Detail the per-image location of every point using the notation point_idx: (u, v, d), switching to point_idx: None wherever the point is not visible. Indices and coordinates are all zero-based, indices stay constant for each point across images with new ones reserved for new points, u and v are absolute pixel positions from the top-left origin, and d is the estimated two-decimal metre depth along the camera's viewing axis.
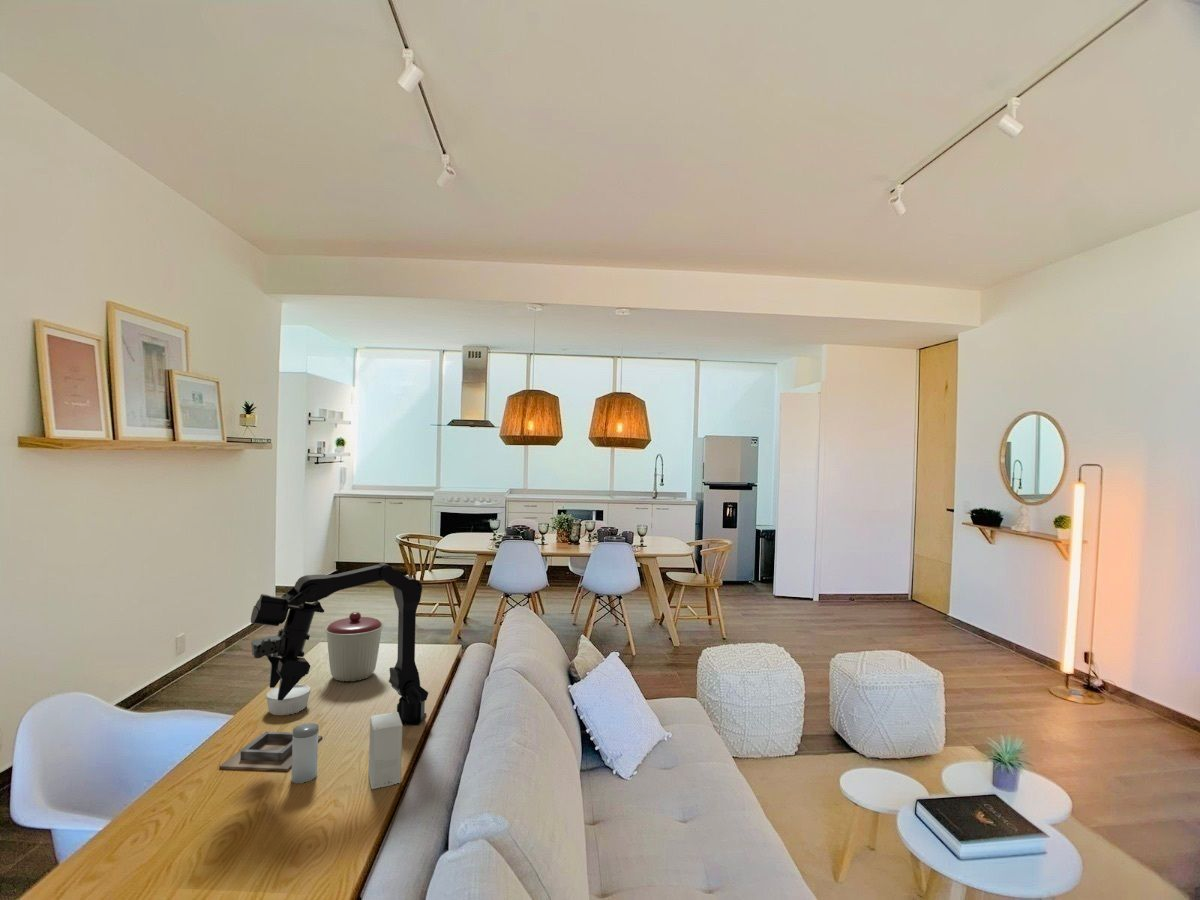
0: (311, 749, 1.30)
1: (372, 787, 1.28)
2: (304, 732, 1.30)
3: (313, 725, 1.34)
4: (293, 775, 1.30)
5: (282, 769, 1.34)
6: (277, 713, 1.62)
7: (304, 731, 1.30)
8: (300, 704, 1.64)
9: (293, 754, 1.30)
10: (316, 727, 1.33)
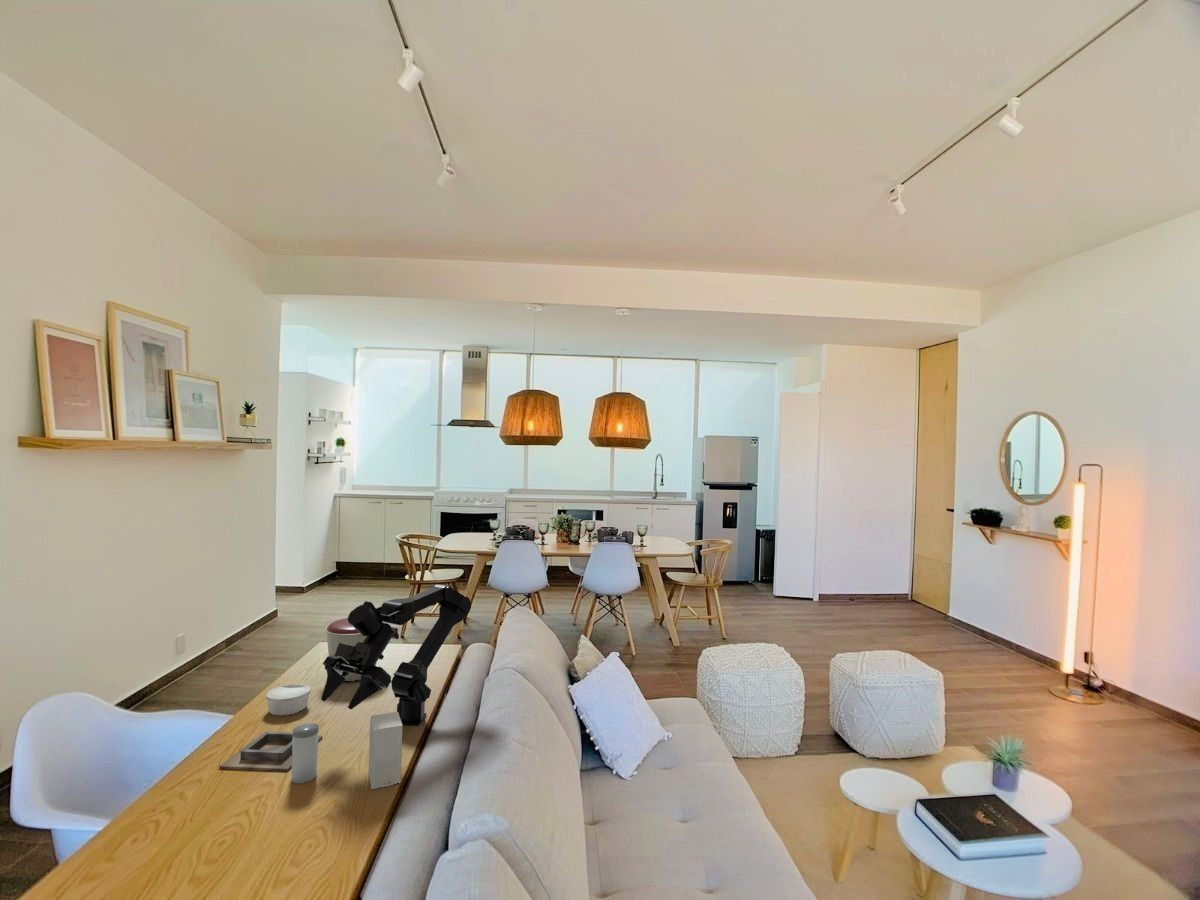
0: (311, 749, 1.30)
1: (372, 787, 1.28)
2: (304, 732, 1.30)
3: (313, 725, 1.34)
4: (293, 775, 1.30)
5: (282, 769, 1.34)
6: (277, 713, 1.62)
7: (304, 731, 1.30)
8: (300, 704, 1.64)
9: (293, 754, 1.30)
10: (316, 727, 1.33)
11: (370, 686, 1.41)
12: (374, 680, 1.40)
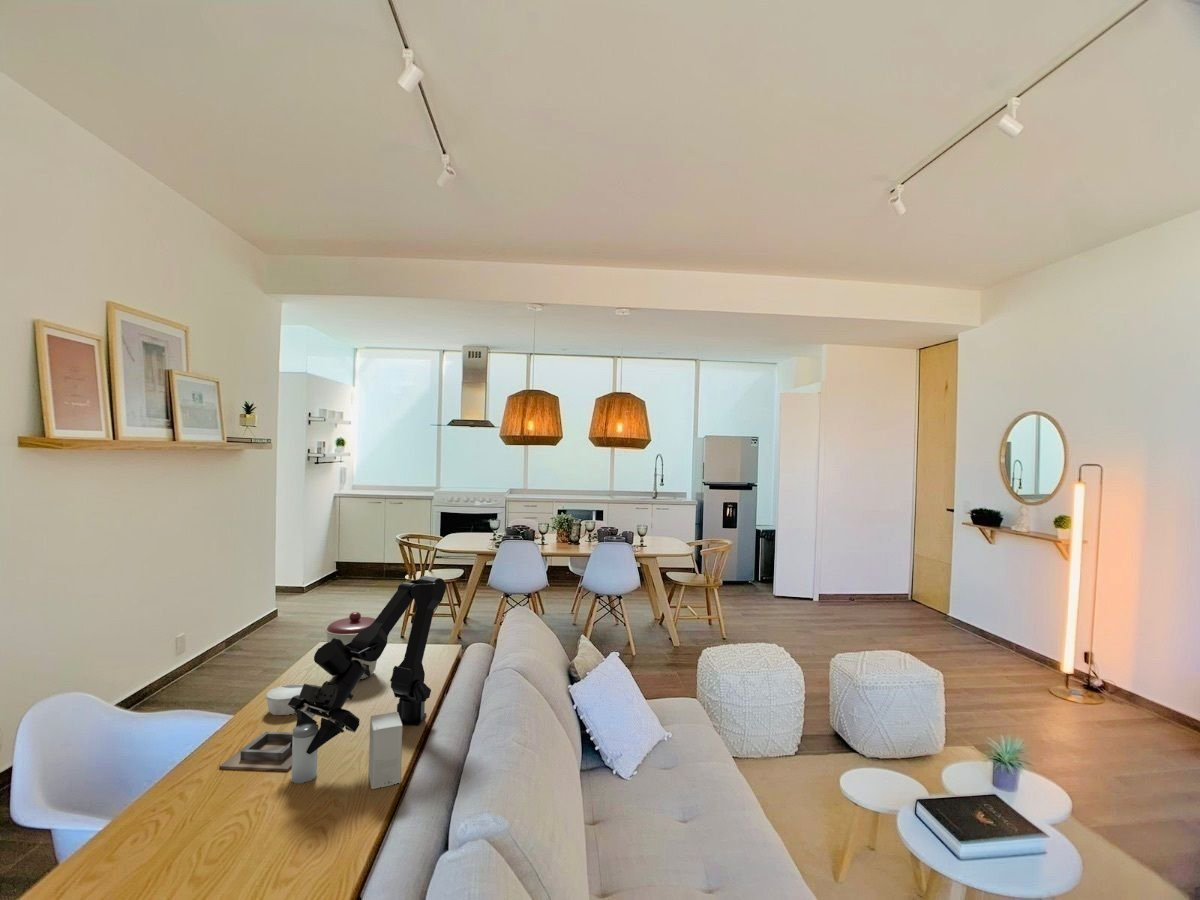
0: None
1: (372, 787, 1.28)
2: (304, 732, 1.30)
3: (313, 725, 1.34)
4: (293, 775, 1.30)
5: (282, 769, 1.34)
6: (277, 713, 1.62)
7: (304, 731, 1.30)
8: None
9: (293, 754, 1.30)
10: (316, 727, 1.32)
11: (331, 728, 1.33)
12: (335, 722, 1.32)
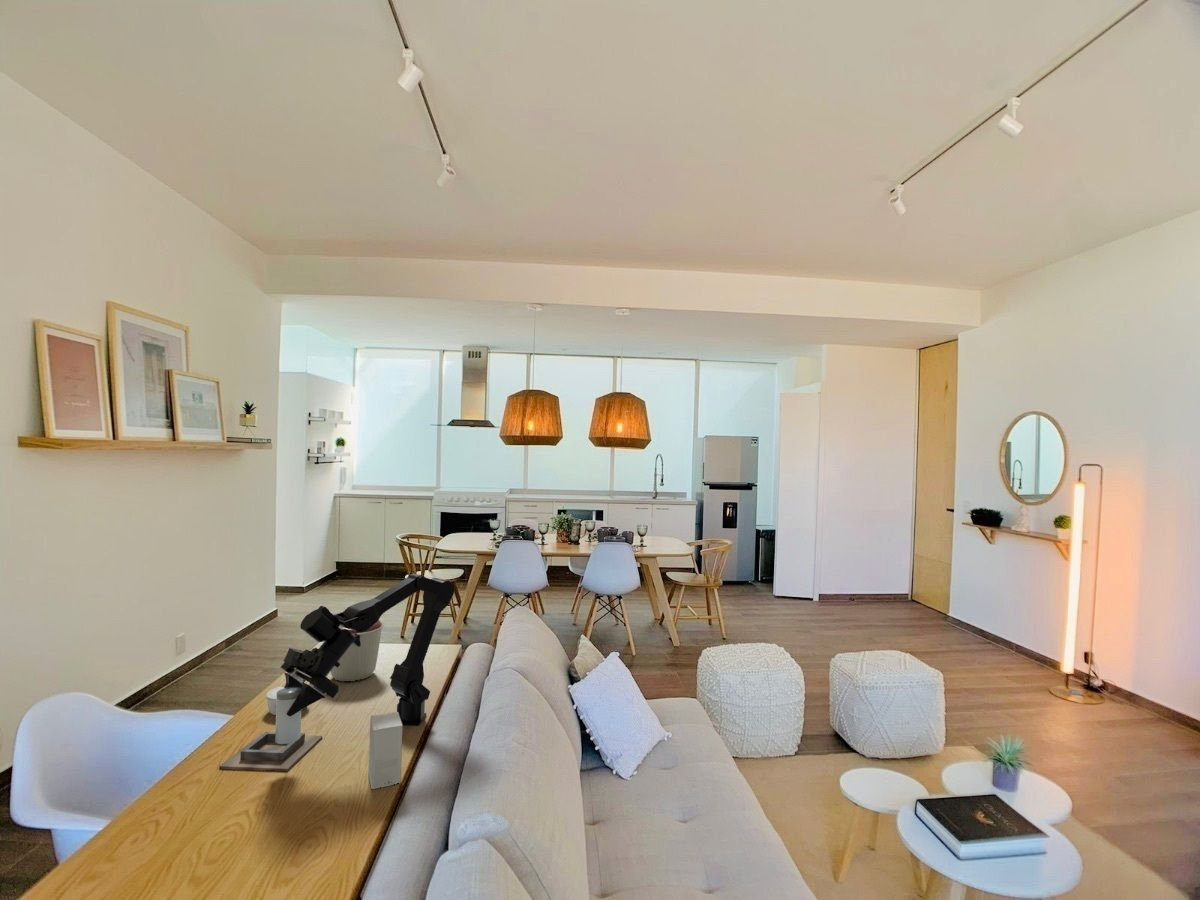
0: None
1: (372, 787, 1.28)
2: (285, 694, 1.34)
3: (297, 689, 1.37)
4: (276, 735, 1.34)
5: (282, 769, 1.34)
6: None
7: (286, 693, 1.34)
8: None
9: (276, 715, 1.34)
10: (299, 691, 1.36)
11: (313, 693, 1.36)
12: (314, 688, 1.34)
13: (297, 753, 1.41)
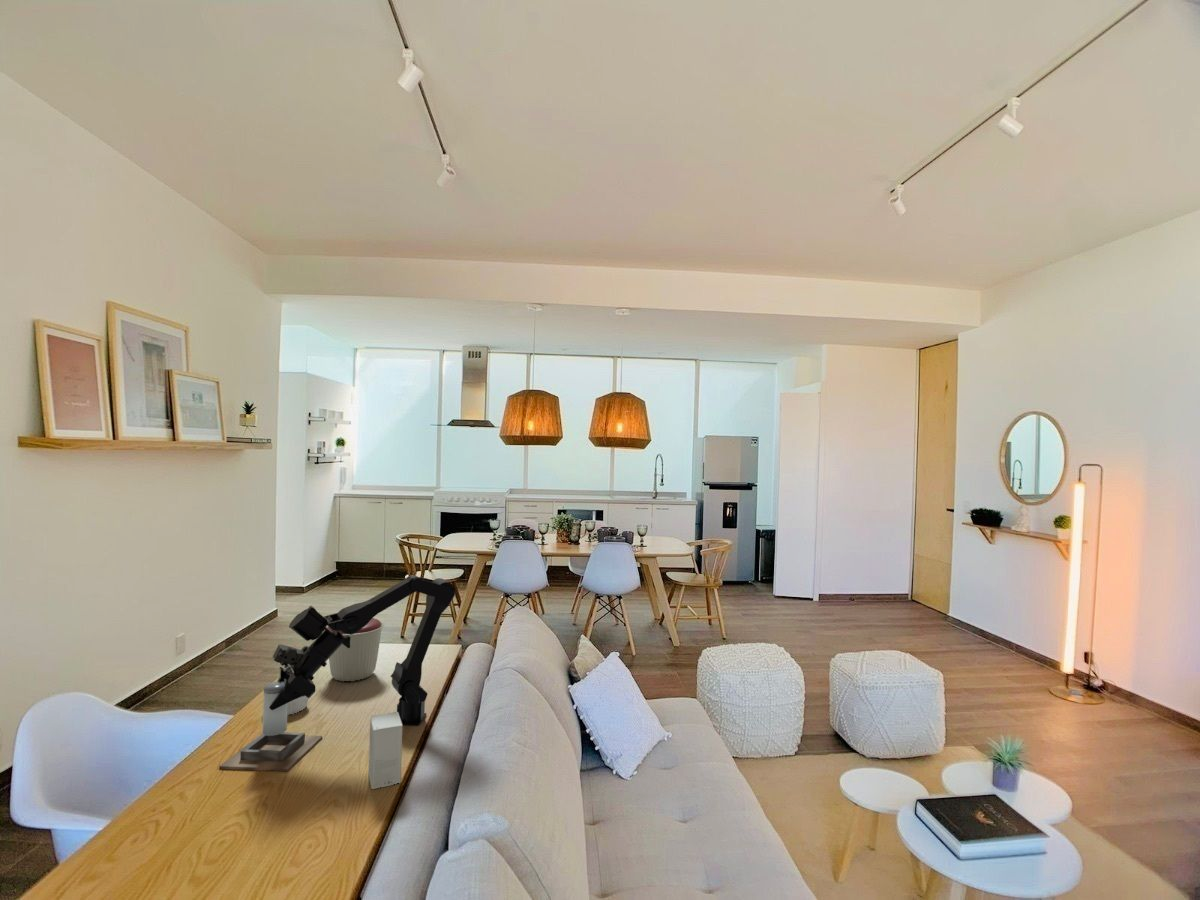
0: None
1: (372, 787, 1.28)
2: (270, 688, 1.40)
3: None
4: None
5: (282, 769, 1.34)
6: None
7: (271, 688, 1.41)
8: (300, 704, 1.64)
9: (263, 707, 1.41)
10: (283, 686, 1.42)
11: (294, 690, 1.41)
12: None
13: (297, 753, 1.41)
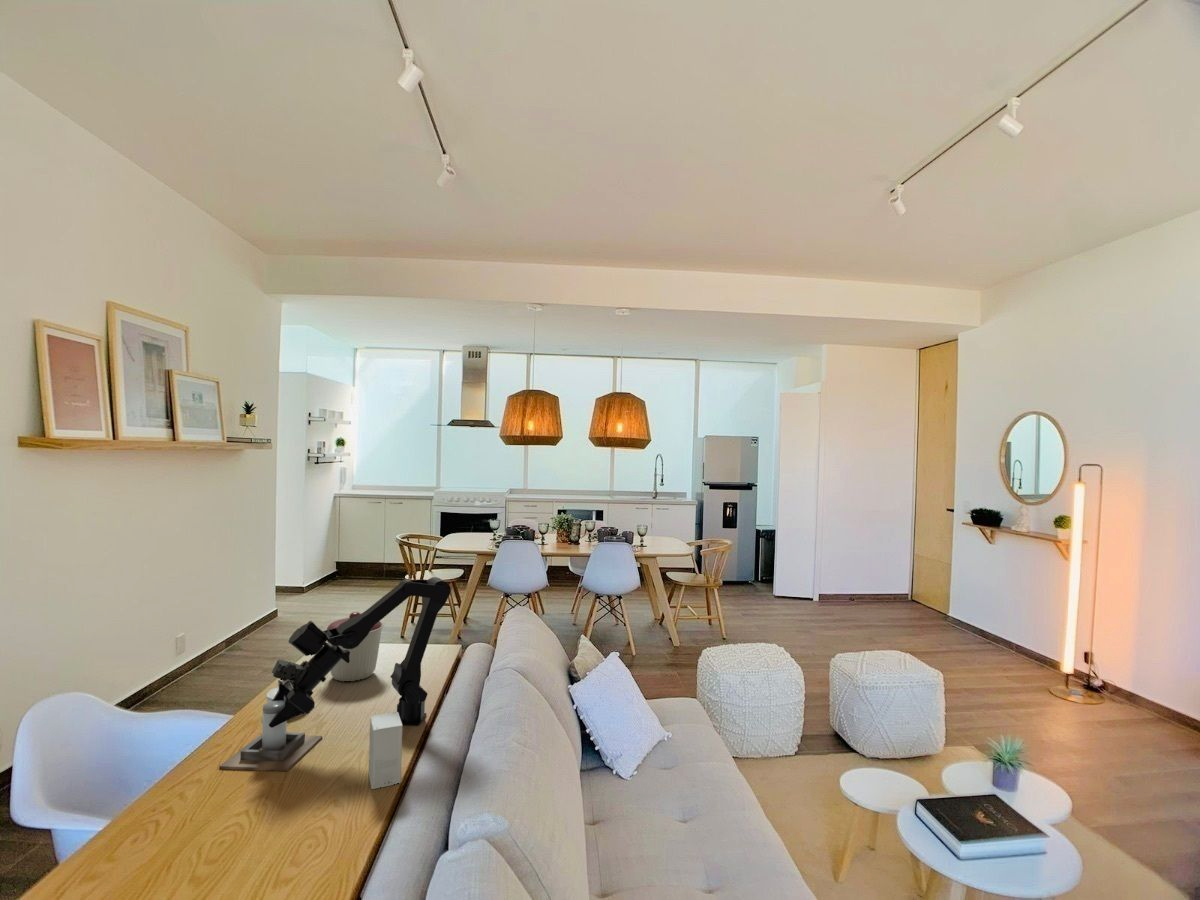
0: None
1: (372, 787, 1.28)
2: (269, 708, 1.40)
3: (283, 703, 1.43)
4: None
5: (282, 769, 1.34)
6: None
7: (270, 707, 1.41)
8: None
9: (262, 726, 1.41)
10: None
11: (294, 707, 1.40)
12: (293, 702, 1.38)
13: (297, 753, 1.41)
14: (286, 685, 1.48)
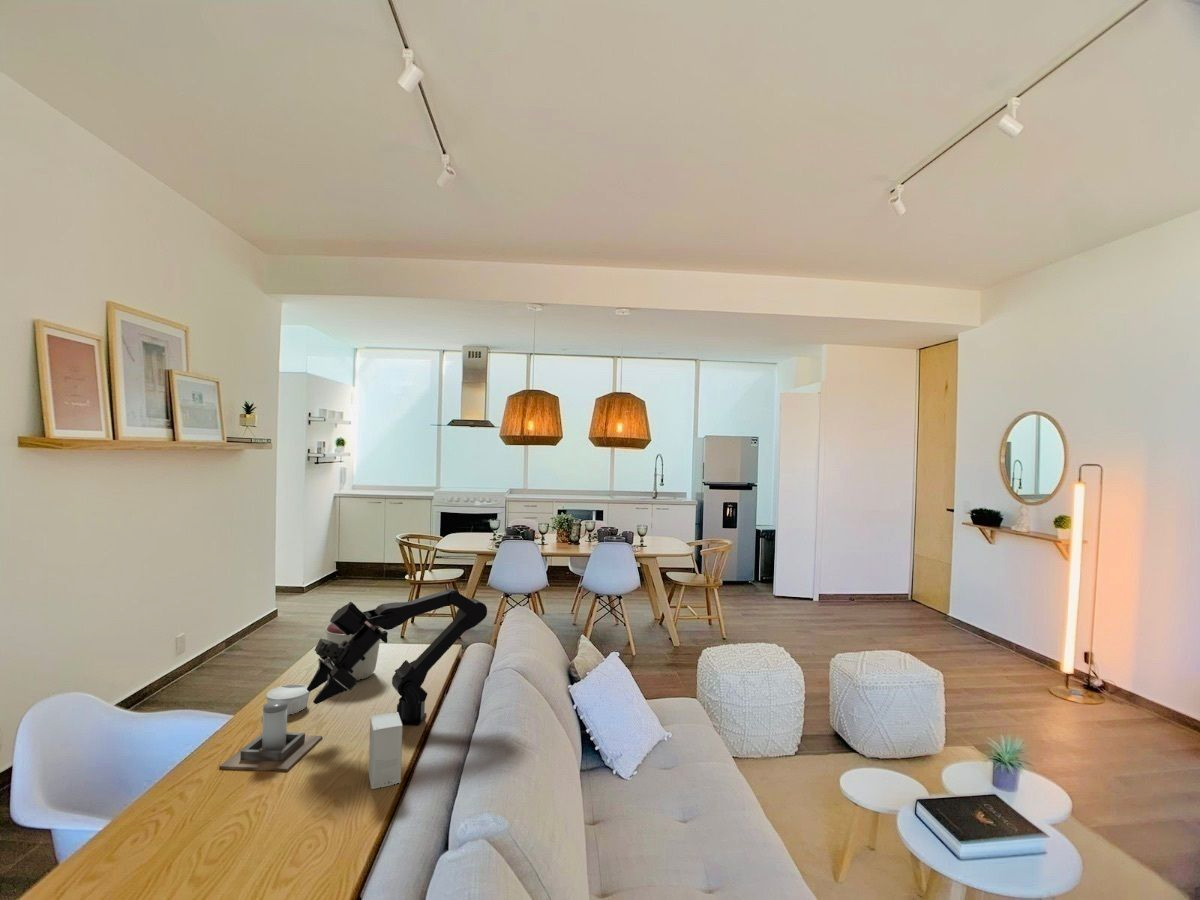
0: (274, 725, 1.40)
1: (372, 787, 1.28)
2: (269, 708, 1.40)
3: (283, 703, 1.43)
4: (262, 746, 1.41)
5: (282, 769, 1.34)
6: None
7: (270, 707, 1.41)
8: (300, 704, 1.64)
9: None
10: (282, 705, 1.42)
11: (337, 685, 1.45)
12: (336, 680, 1.43)
13: (297, 753, 1.41)
14: (326, 663, 1.54)
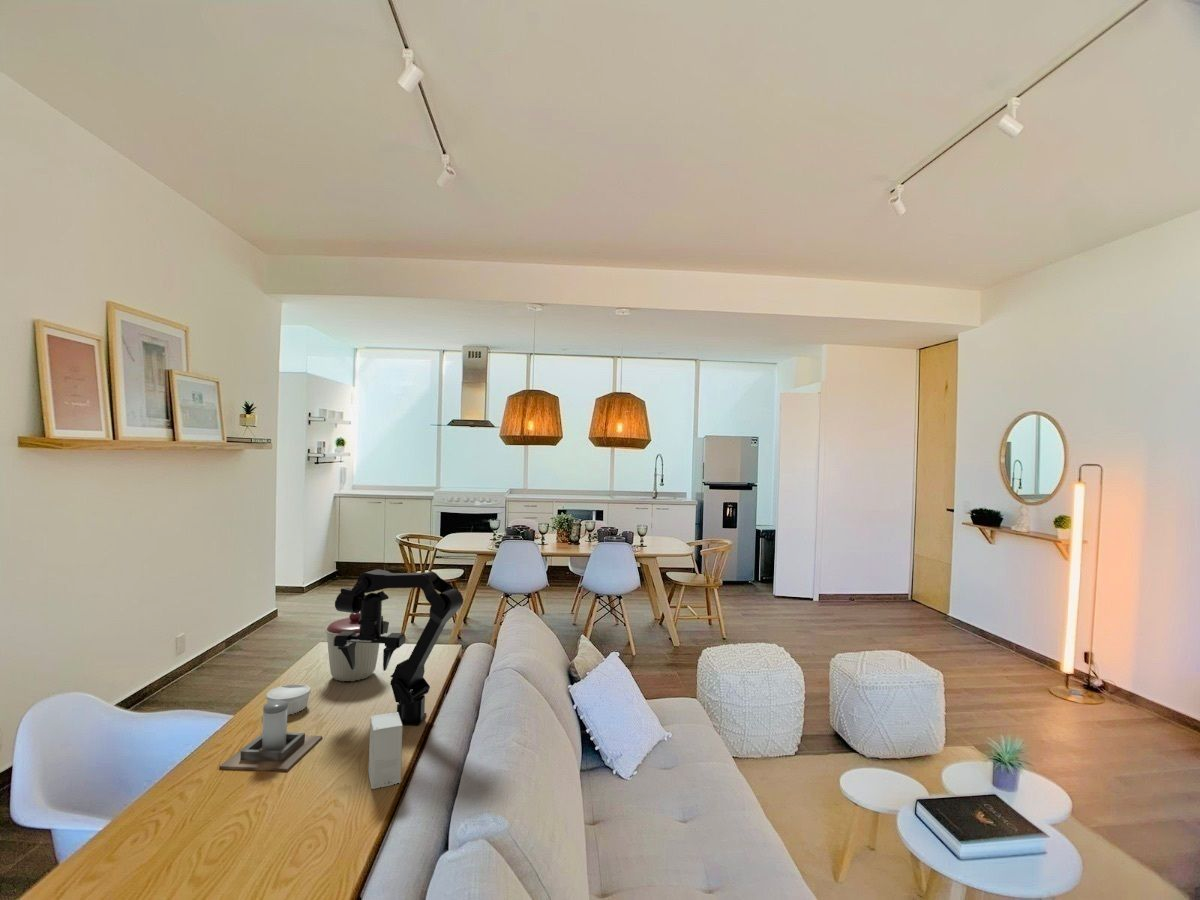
0: (274, 726, 1.40)
1: (372, 787, 1.28)
2: (269, 708, 1.40)
3: (284, 703, 1.43)
4: (262, 746, 1.41)
5: (282, 769, 1.34)
6: None
7: (270, 707, 1.41)
8: (300, 704, 1.64)
9: None
10: (283, 706, 1.42)
11: None
12: None
13: (297, 753, 1.41)
14: None
